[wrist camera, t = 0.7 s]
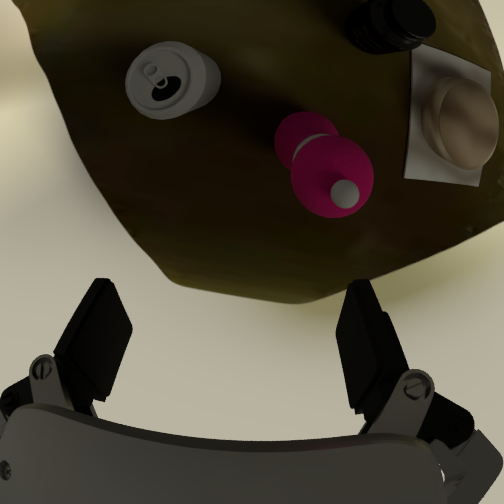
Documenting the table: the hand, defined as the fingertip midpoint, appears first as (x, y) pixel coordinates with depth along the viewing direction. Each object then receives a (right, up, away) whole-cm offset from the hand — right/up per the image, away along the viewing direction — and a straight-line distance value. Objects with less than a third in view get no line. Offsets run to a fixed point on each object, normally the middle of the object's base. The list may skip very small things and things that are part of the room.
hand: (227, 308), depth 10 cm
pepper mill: (+7, +17, +21) cm, 28 cm away
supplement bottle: (+15, +29, +12) cm, 35 cm away
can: (-6, +23, +17) cm, 29 cm away
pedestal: (+30, +21, +17) cm, 40 cm away
